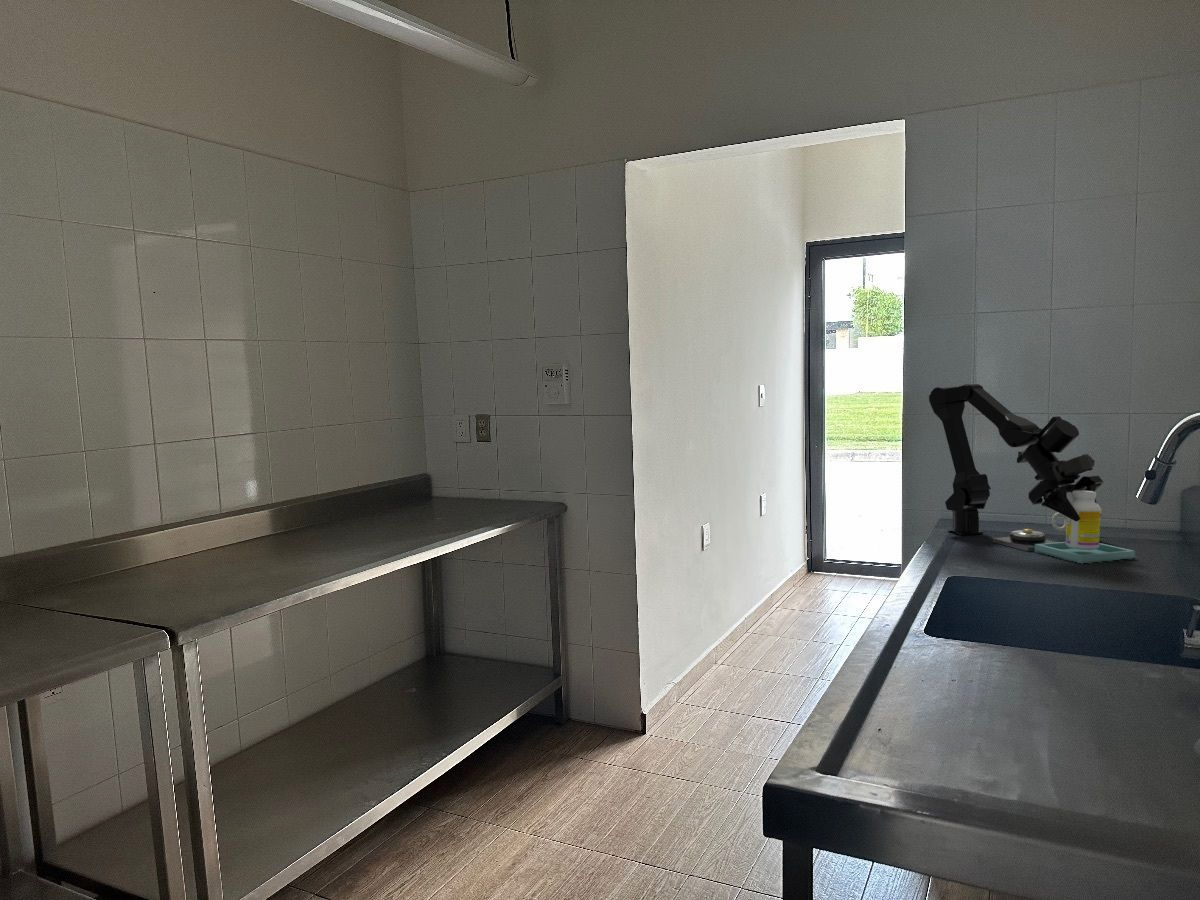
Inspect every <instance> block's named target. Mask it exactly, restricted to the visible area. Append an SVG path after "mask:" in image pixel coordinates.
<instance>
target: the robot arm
mask: <svg viewBox="0 0 1200 900" xmlns="http://www.w3.org/2000/svg"><path fill="white" fill-rule="evenodd" d="M928 401H929V404H930V407H931V410H932V411H933V413H934V414H935V415H936V417H937V418H939V420H940V421H941V422H942V426H943V429H944V434H945V438H946V440H947V445H948V449H949V453H950V456H951V459H952V464H953V468H954V471H955V474H954V477H953V482H952V489H953V490H952V491H953V492H952V494H951V495H950V496H949V497H948V499H946V500H945V503H944V504H945V508H946V510H948V511H952V529H953V528H954V532H955V533H954V534H958V535H962V536H966V535H967V536H969V535H979V534H984V533H985V532H984V531H983V530H981V529H980V516H979V515H980V514H979V512H980V511H979V510H985V507H986V504H987V502H988V500H989V498H990V495H991V493H990V490H991V486H990V485H989V480H988V478H989V477H988V476H987V474H986V473H984V474H983V473H982V474H981V473H980V472H979V471H978V470H977V468H976V465H975V461H974V457H973V454H972V450H971V447H970V443H969V438H968V436H967V435H968V434H967V431H966V428H965V424H964V421H963V414H964V410H965V408H966V405H965V403H966V402H967V403H969V404H970V405H971V406H972V407H974V408H975V409H976V410H977V411H978V412H979V413H980V414H981V415H983V416H984V417H985V418H986V419H987V420H989V421H990V423H993V425H995V427H996V428H997V430H998V434H999V436H1000V437H1001V438H1002V439H1003V441H1004V442H1005V443H1006V444H1007V446H1009V447H1011V448H1023V447H1026V448H1025V449H1024V450H1023V451H1018V452H1017V453H1018V455H1017V457H1016V464H1023V463H1024V464H1025V463H1027V464H1028V465H1029V466H1030V468H1032V470H1033V471H1034V473H1035V474H1036V475H1035V476H1034V479H1035V481H1039V482H1038V483H1037V484H1036V485H1035V486H1033V488H1032V489H1031V490H1030V491H1029V492H1028V493H1027V494H1028V500H1029V502H1030V503H1031V504H1032V505H1034V506H1035V505H1041V506H1042V507H1046V508H1048V509H1050V510H1053V511H1055V512H1056V513H1057V512H1059V513H1061V514H1063V515H1064V516H1066V517H1068V518H1070V519H1072V520H1074V521H1078V520H1080V517H1079V516H1078V514H1077V512H1076V511H1075V509H1074V508H1073V506H1072V505H1071V503H1070V502H1071V501H1070V500H1069V499H1068V496H1067V495H1068V494H1071V495H1072V491H1078V490H1080V491H1093V492H1096V491H1097V489H1099V488H1100V487H1101V486H1102V485H1103V484H1104V481H1103V479H1102V478H1101V477H1100V476H1099V475H1095V474H1094V475H1093V474H1092V475H1091V474H1090V475H1083V476H1082V477H1081V475H1080V474H1083V473H1085V472H1087V471H1089V472H1090V471H1092V470H1094V468H1093V467H1094V466H1095V459H1093V458H1092V457H1091V456H1090V455H1089V454H1088V453H1086V454H1085V453H1084V454H1082V455H1079V456H1076V457H1073V458H1071V459H1068V460H1060V459H1058V457H1057V455H1055V453H1063V451H1064V450H1065V449H1067V448H1068V447H1069V446H1070V445H1071V443H1072V442H1074V441H1075V440H1076V439H1077V438H1078V437H1079V436H1080V432H1079V429H1078V428H1077V426H1075V425H1074V424H1072V423H1071V422H1070V421H1068V420H1065V419H1062V417H1061V416H1060V415H1057V416H1056V415H1055V416H1052V417H1051V418H1050V420H1049V421H1048V423H1047V424H1046V425H1045V426H1044V427H1043V428H1041V427H1039V426H1038V425H1037V424H1036V423H1034V422H1032V421H1031V420H1029V419H1027V418H1025V417H1023V416H1022V417H1021V416H1019V415H1016V414H1015V413H1013V412H1011V411H1010V410H1009V409H1008V408H1007V407H1006V406H1004V405H1003V404H1002V403H1001V402H1000V401H998V400H997V399H996V398H995V397H994V396H992V395H991V394H990V393H989V392H988V391H986V389H984V387H983V386H982V385H980V384H979V383H965V384H963V385H959V386H939V387H938V386H937V387H934V388H933V389H932V390H931V392H930V394H929V396H928ZM1080 477H1081V478H1080ZM1079 478H1080V479H1079ZM1076 480H1077V482H1076ZM1095 503H1097V497H1096V498H1095ZM1097 504H1098V503H1097ZM1100 517H1102V513H1101V514H1100Z"/></svg>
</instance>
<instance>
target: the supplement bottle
mask: <svg viewBox="0 0 1200 900" xmlns="http://www.w3.org/2000/svg"><path fill="white" fill-rule="evenodd" d="M1071 496H1072V501H1069V502H1070V503H1071V505H1072V506H1073V508H1074V509H1075V511H1076V512H1077V514H1078V516H1079V517H1080V520H1078V521H1074V520H1072V519H1070V518H1068V517H1067V521H1066V532H1065V541H1066V545H1067V546H1068V547H1070V548H1074V549H1081V550H1094V549H1098V548H1099V543H1100V535H1101V534H1100V532H1101V531H1100V530H1101V520H1100V508H1101V506H1100V505H1099V504H1098V503H1095V498H1096V499H1097V492H1096V491H1095V492H1093V491H1080V490H1078V491H1072V494H1071Z"/></svg>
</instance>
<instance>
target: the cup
mask: <svg viewBox="0 0 1200 900" xmlns="http://www.w3.org/2000/svg"><path fill="white" fill-rule="evenodd" d="M1102 511H1103V509H1102V508H1101V507H1100V514H1101V515H1102V513H1103V512H1102ZM1059 517H1062V518H1063V519H1064V520H1063V521H1064V524H1063V525H1062V526H1058V524H1057V518H1059ZM1101 517H1102V516H1101ZM1101 517H1100V521H1101ZM1066 521H1067V517H1066V516H1064V515H1063V514H1061V513H1059V512H1057V511H1056V512H1055V513H1054V514H1053V515H1052V518H1051V524H1052V526H1053V528H1054V529H1055V530H1057V531H1060V532H1065V533H1066Z"/></svg>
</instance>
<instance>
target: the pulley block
mask: <svg viewBox="0 0 1200 900" xmlns="http://www.w3.org/2000/svg"><path fill="white" fill-rule="evenodd" d="M1055 542H1056V541H1053V540H1049V539H1047V537H1046V534H1045V533H1044V532H1042V531H1037V530H1033V529H1031V528H1023V529H1022V530H1021V529H1019V530H1012V531H1011V532H1010V533H1009V536H1002V537H994V538H992V543H995V544H999V545H1002V546H1005V547H1009V548H1012V549H1018V550H1021V551H1026V552H1035V544H1044V543H1055Z"/></svg>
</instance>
